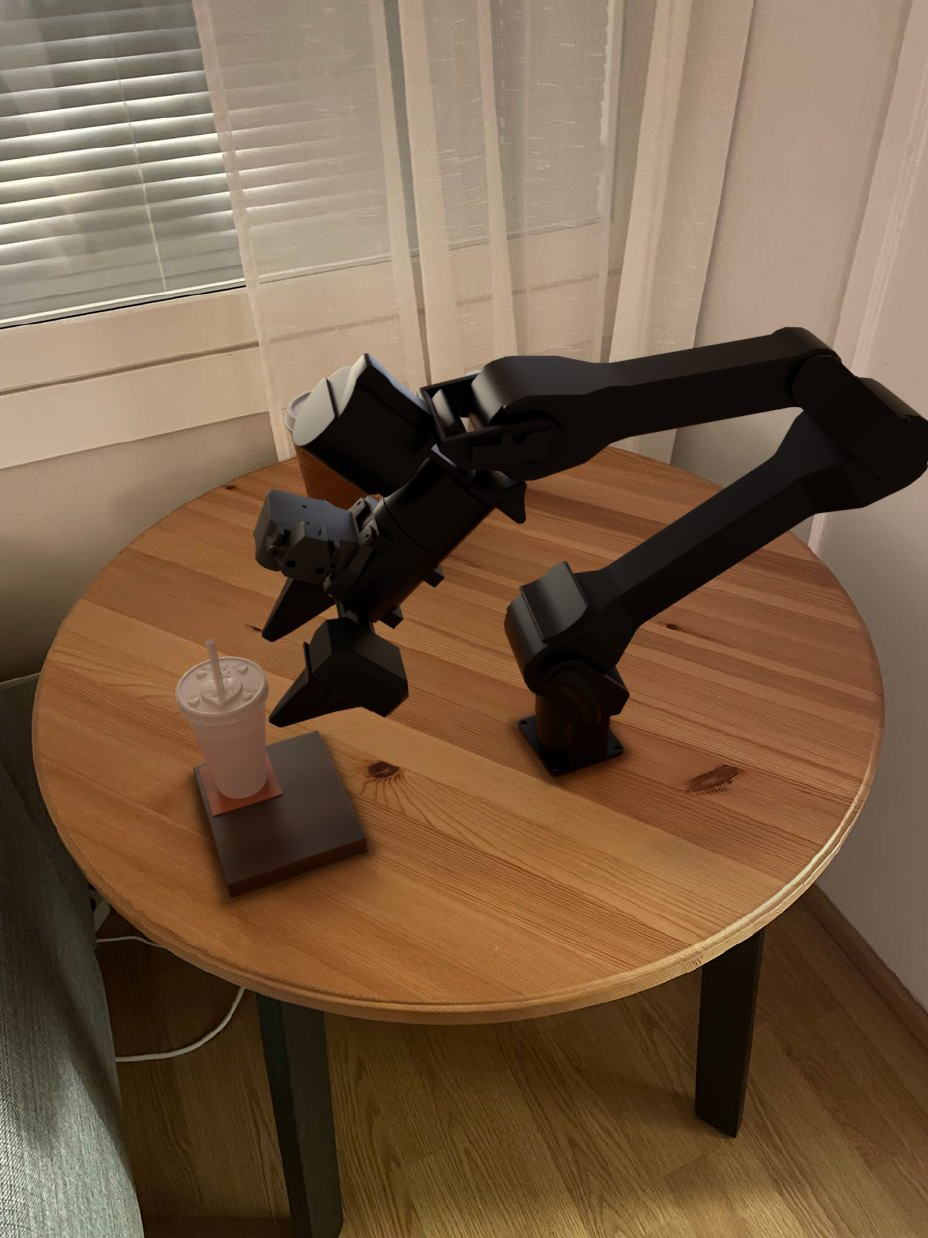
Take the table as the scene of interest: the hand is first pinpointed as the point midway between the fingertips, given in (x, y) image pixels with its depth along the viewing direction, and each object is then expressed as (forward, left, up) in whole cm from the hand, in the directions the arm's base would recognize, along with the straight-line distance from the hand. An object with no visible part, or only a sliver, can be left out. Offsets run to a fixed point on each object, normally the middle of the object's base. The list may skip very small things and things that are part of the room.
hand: (269, 678), depth 70 cm
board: (-2, +1, -11) cm, 11 cm away
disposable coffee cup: (+38, -16, -11) cm, 42 cm away
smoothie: (+1, +3, -10) cm, 10 cm away
